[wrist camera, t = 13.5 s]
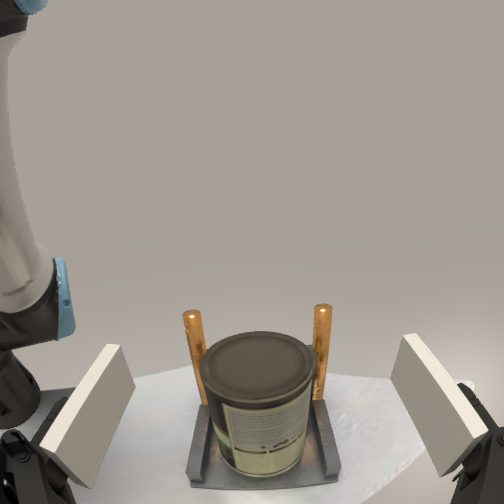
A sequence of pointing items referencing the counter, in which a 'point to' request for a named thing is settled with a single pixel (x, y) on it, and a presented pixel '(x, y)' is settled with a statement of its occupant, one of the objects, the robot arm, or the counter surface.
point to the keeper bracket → (317, 431)
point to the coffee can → (259, 400)
